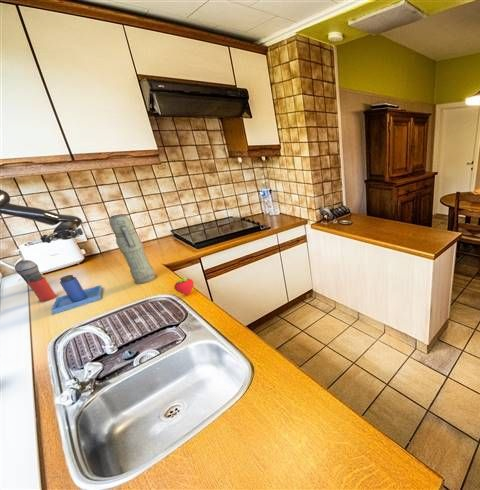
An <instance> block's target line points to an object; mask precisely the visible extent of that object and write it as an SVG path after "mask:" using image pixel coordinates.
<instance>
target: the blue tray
mask: <svg viewBox="0 0 480 490" xmlns="http://www.w3.org/2000/svg"><path fill="white" fill-rule="evenodd" d="M83 290H84V292H85V294H86V296H87V298H86V299H84V300H82V301H78V302H75V303H73V302H71V300H70V299H69V297H68V295H67V294H65V295H61V296H58V297H55V301H54V302H53V305H52V308H51V313H52V314H54V315H55V314H58V313H61V312H64V311H67V310H71V309H74V308H78V307H80V306H81V307H82V306H83V305H87V304H90V303H94V302H97V301H100V300H101V299H102V293H103V287H102V285H96V286H93V287H89V288H86V289H83Z"/></svg>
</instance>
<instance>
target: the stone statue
mask: <svg viewBox="0 0 480 490" xmlns="http://www.w3.org/2000/svg"><path fill="white" fill-rule="evenodd" d="M108 222H109V223H108V224H109V226H110V229H111V230H112V232H113V234H114V235H115V242H116V243H115V244H116V245H117V247H118V249H119V252H120V253H122V254H123V256H124V259H125V261H126V263H127V266H128V268H129V272H130V275H131V277H132V279H133V280H134V283H135V284H137V285H140V284H141V285H142V284H147V283H149V282H151V281H153V280H155V279H156V278H157V275H156V273H155V270H154V268H153V266H152V265H151V264H150V261H149V259H148V257H147V255H146V253H145V250H144V245H143V243H142V240H141V237H140V236H139V235H138V234H137V232H136V231H135V228H134V226H133V223H132V221H131V219H130V218H129V217H128V216H127V215H126V214H124V213H123V214H122V213H119V214H115V215H112V216H110V217H109V218H108Z"/></svg>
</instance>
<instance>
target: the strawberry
mask: <svg viewBox="0 0 480 490" xmlns="http://www.w3.org/2000/svg"><path fill="white" fill-rule="evenodd" d="M173 285H174V286H173V288H174V290H176V292H178V293H180V294H182V295H185V296H188V295H190V294H191V292H192V290H193V288H194V281H193V279H192V278H189V277H183V276H181V278H180V279H177V280H176V281H175V284H173Z"/></svg>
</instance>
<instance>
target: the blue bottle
mask: <svg viewBox="0 0 480 490" xmlns="http://www.w3.org/2000/svg"><path fill="white" fill-rule="evenodd" d="M59 280H60V281H59V284H60V286H61V287H62V289H63V291H64V292H65V295H68V297H69V299H70V300H71V302H73V303H75V302H78V301H82V300H84V299H86V298H87V296H86V294H85V292H84V290H85V289H83V287H82V285H81V283H80V282H79V280H78V278H77V277H76V276H74V275H73V274H68V275H65V276H62V277H60V278H59Z"/></svg>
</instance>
